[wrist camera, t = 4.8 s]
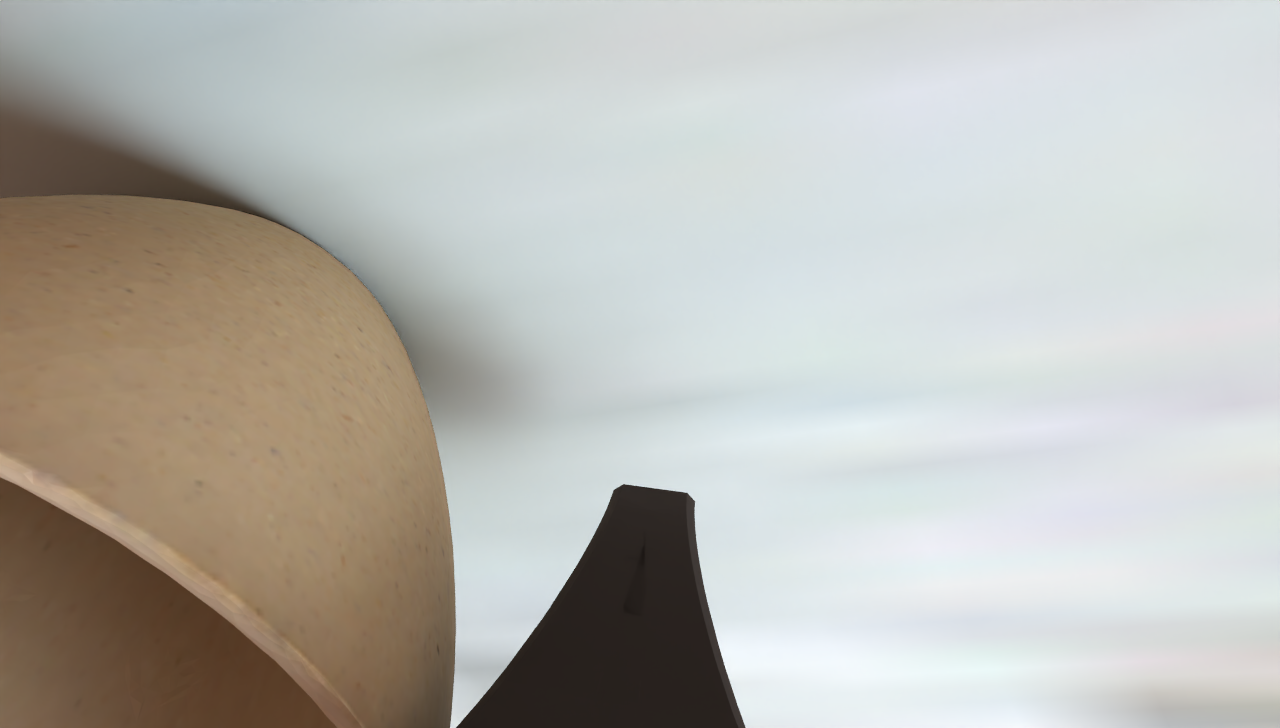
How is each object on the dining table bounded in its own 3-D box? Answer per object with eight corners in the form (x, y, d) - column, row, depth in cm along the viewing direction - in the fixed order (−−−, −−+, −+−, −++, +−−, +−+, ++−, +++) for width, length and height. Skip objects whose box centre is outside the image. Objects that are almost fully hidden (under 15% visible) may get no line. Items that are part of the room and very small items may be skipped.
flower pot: (55, -161, 11) (-732, 26, 5) (705, 355, 14) (641, 835, 8) (-150, 351, 16) (-671, 729, 11) (360, 653, 19) (170, 1081, 13)
